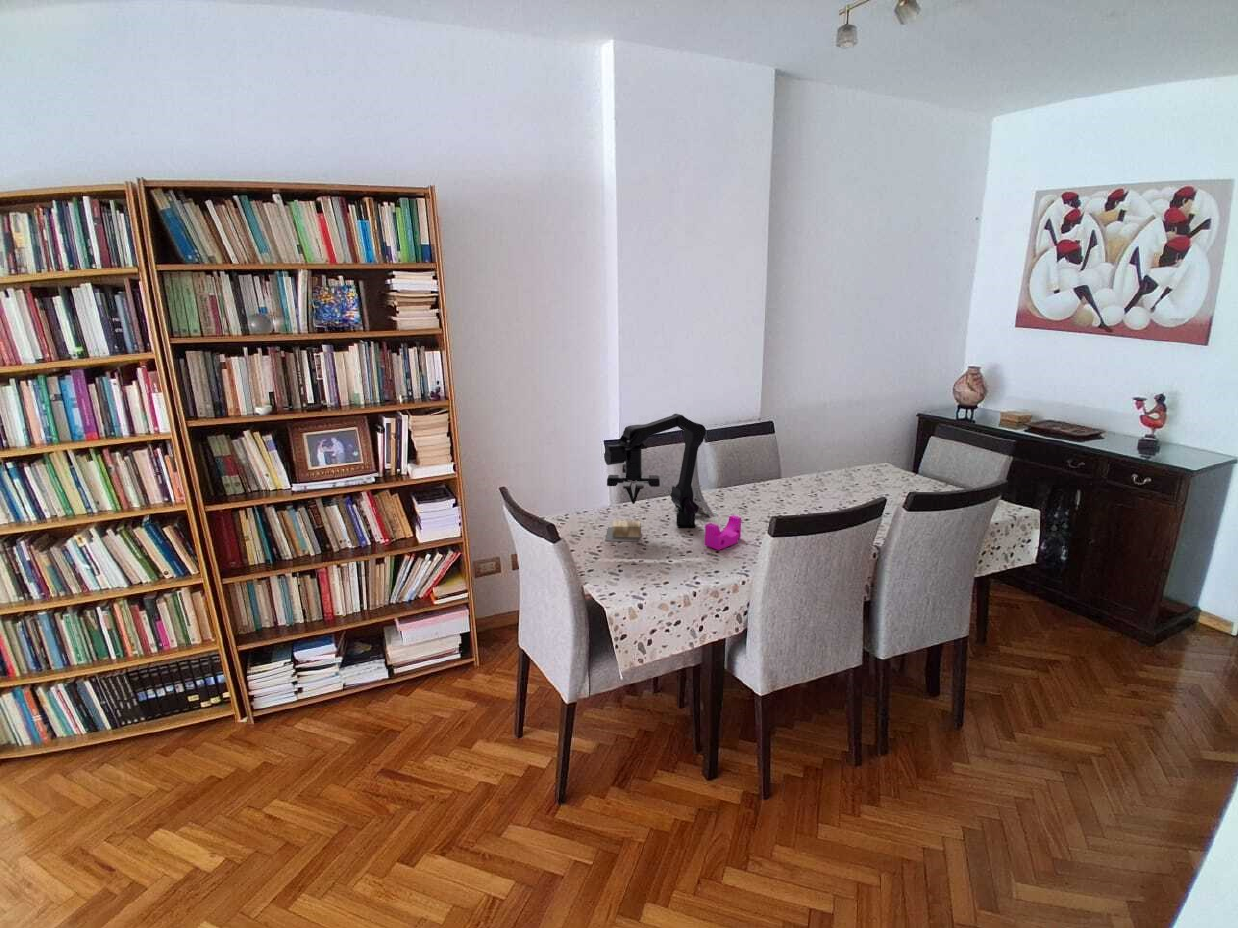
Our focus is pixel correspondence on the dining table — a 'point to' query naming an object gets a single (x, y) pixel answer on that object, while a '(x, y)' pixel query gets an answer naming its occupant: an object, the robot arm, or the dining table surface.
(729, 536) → the toy block
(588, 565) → the dining table surface
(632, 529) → the oak block
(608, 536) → the placemat
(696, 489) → the eiffel tower
